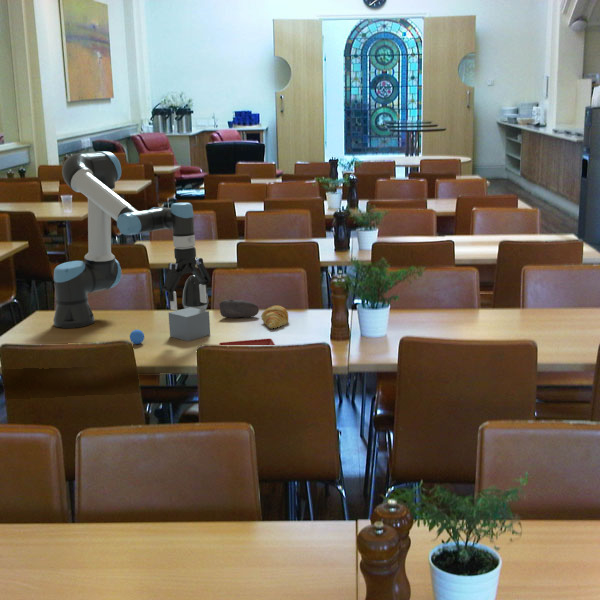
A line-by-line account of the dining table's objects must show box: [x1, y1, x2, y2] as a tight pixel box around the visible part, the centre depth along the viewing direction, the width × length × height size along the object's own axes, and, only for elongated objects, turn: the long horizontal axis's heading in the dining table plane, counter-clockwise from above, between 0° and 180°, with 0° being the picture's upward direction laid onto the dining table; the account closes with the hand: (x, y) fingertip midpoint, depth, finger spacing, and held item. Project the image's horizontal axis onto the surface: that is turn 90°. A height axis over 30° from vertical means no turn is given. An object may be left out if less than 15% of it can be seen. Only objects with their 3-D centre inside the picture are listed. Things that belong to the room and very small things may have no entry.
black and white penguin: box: [182, 274, 209, 311], centre depth 344 cm, size 10×10×15 cm
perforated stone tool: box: [218, 299, 259, 319], centre depth 335 cm, size 15×5×7 cm, turn 84°
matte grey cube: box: [168, 307, 211, 342], centre depth 311 cm, size 10×10×9 cm
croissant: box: [260, 304, 289, 330], centre depth 326 cm, size 21×10×8 cm, turn 176°
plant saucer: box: [218, 338, 276, 346], centre depth 286 cm, size 18×18×3 cm
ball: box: [129, 329, 145, 345], centre depth 304 cm, size 5×5×5 cm
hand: (189, 306), depth 310 cm, fingers open, 13 cm apart
